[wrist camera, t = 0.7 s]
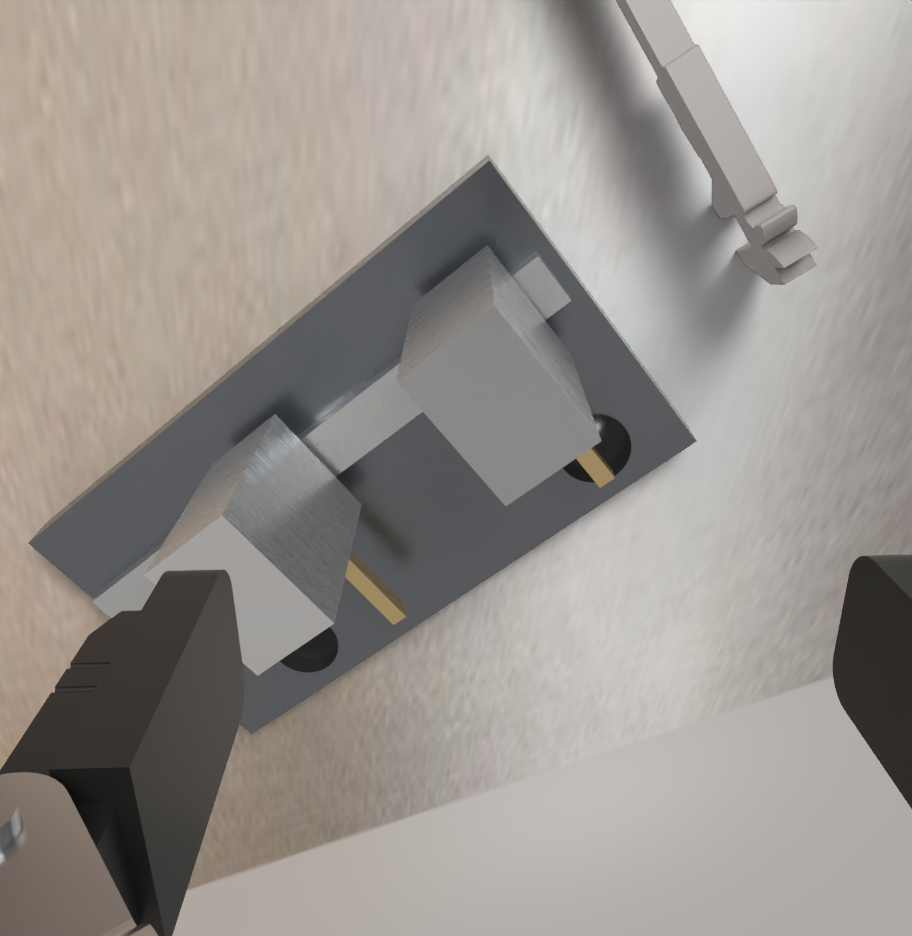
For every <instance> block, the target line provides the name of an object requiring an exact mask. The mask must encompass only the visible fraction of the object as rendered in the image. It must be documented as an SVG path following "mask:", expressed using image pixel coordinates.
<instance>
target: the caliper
mask: <svg viewBox="0 0 912 936" xmlns="http://www.w3.org/2000/svg"><path fill="white" fill-rule="evenodd" d="M616 2H617V3H618V5H619V7H620V9H621V11H622V13H623V14H624V16H625V18H626V20H627V22H628V24H629V25H630V27H631V29H632V31H633V33H634V34H635V36H636V38H637V40H638V42H639V44H640V45H641V47H642V49H643V51H644V53H645V54H646V56H647V58H648V60H649V62H650V64H651V65H652V67H653V69H654V71H655V73H656V74H657V76H658V78H657V81H656V82H657V85H658V87H659V89H660V91H661V93H662V94H663V96H664V98H665V99H666V101H667V103H668V104H669V106H670V108H671V109H672V111H673V113H674V115H675V117H676V119H677V121H678V123H679V125H680V127H681V129H682V131H683V132H684V134H685V135H686V137H687V139H688V140H689V142H690V143H691V145H692V147H693V148H694V150H695V152H696V153H697V155H698V156H699V158H701V160H702V162H703V164H704V166H705V167H706V169H707V171H708V173H709V175H710V176H711V178H712V206H713V208H714V210H715V212H716V213H717V215H718V217H719V218H720V217H722V218H723V219H725V218H729V217H732V216H733V215H734V216H735V218H736V219H737V221H738V223H739V225H740V227H741V228H742V230H743V232H744V234H745V236H746V237H747V239H748V241H749V243H748V244H746V245H744V246H743V247H741V248H739V249H738V250H736V252H737V253H738V255H739V257H740V258H741V260H742V261H743V263H744V264H745V265H746V266H747V267H748V268H750V269H751V270H752V271H754V272H755V273H756V274H758V275H759V276H760V277H762V278H763V279H764V280H766V281H767V282H768V283H770V284H774V285H784V284H786V283H788V282H789V281H791V280H793V279H794V278H796V277H798V276H800V275H801V274H803V273H805V272H806V271H808V270H810V269H811V268H813V267H815V266H816V264H815V262H814V260H813V258H812V256H811V255H810V252H812V251H814V250H815V249H817V246H816V245H815V243H814V242H813V241H812V240H811V239H810V238H809V237H808V236H807V235H805V234H804V233H803V232H801V231H800V230H794V228H793V226H795V225H796V224H797V209H796V207H795V205H789V206H787V207H786V208H784V206H783V205H782V204H780V203H779V201H778V199H777V197H776V195H775V194H777V190H776V188H775V186H774V184H773V182H772V180H771V178H770V177H769V175H768V173H767V171H766V169H765V167H764V165H763V164H762V162H761V160H760V158H759V156H758V154H757V152H756V151H755V149H754V147H753V145H752V143H751V141H750V140H749V138H748V136H747V134H746V132H745V130H744V128H743V127H742V125H741V123H740V121H739V119H738V117H737V115H736V114H735V112H734V110H733V108H732V106H731V104H730V103H729V101H728V99H727V97H726V95H725V93H724V91H723V90H722V88H721V86H720V84H719V82H718V80H717V78H716V77H715V75H714V73H713V71H712V69H711V67H710V66H709V64H708V62H707V60H706V58H705V56H704V54H703V53H702V51H701V49H700V47H699V45H696V44H695V45H694V43H693V41H692V39H691V38H690V36H689V34H688V32H687V30H686V28H685V26H684V25H683V23H682V21H681V19H680V17H679V15H678V13H677V11H676V10H675V8H674V6H673V4H672V2H671V0H616Z"/></svg>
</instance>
